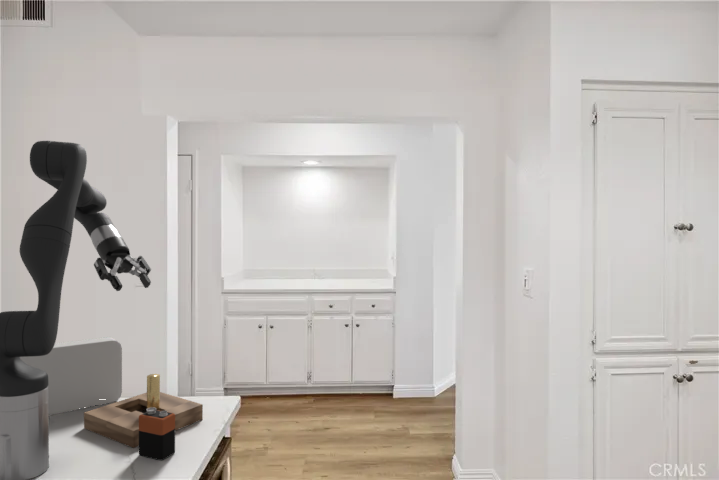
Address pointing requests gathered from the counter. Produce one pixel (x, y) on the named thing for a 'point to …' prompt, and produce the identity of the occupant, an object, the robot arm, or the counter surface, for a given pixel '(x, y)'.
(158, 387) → the brass peg
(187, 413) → the walnut keyhole plate
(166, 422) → the battery
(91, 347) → the grey rounded panel
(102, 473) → the counter surface
